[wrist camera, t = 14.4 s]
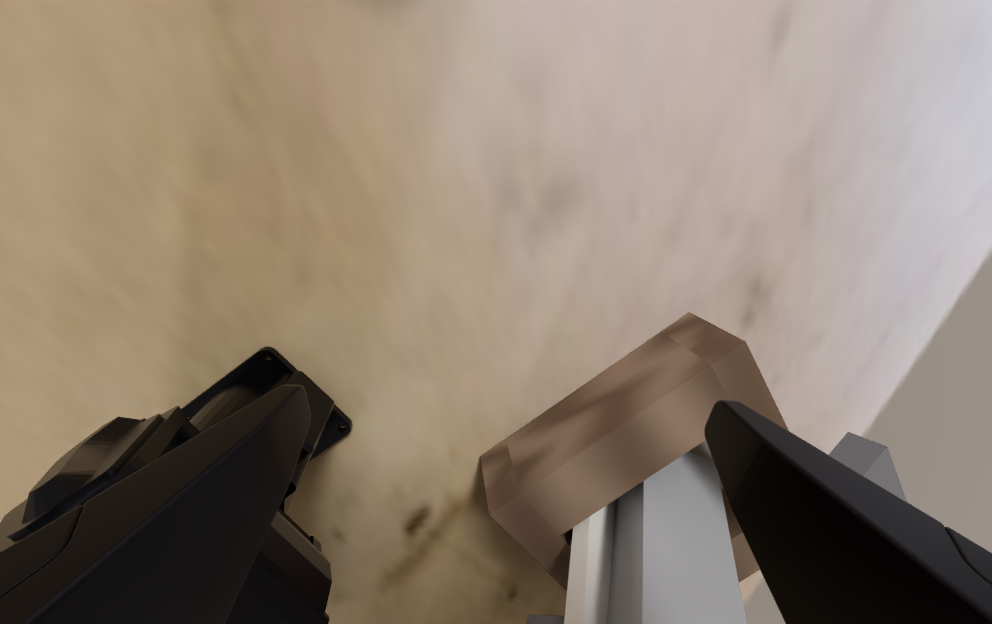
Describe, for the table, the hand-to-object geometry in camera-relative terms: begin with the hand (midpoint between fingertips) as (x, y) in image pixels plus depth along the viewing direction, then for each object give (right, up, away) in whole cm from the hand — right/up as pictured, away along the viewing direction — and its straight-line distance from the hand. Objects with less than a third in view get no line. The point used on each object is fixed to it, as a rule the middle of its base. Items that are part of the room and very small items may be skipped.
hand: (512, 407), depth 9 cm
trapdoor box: (+10, -8, +18) cm, 22 cm away
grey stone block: (+11, -8, +17) cm, 21 cm away
